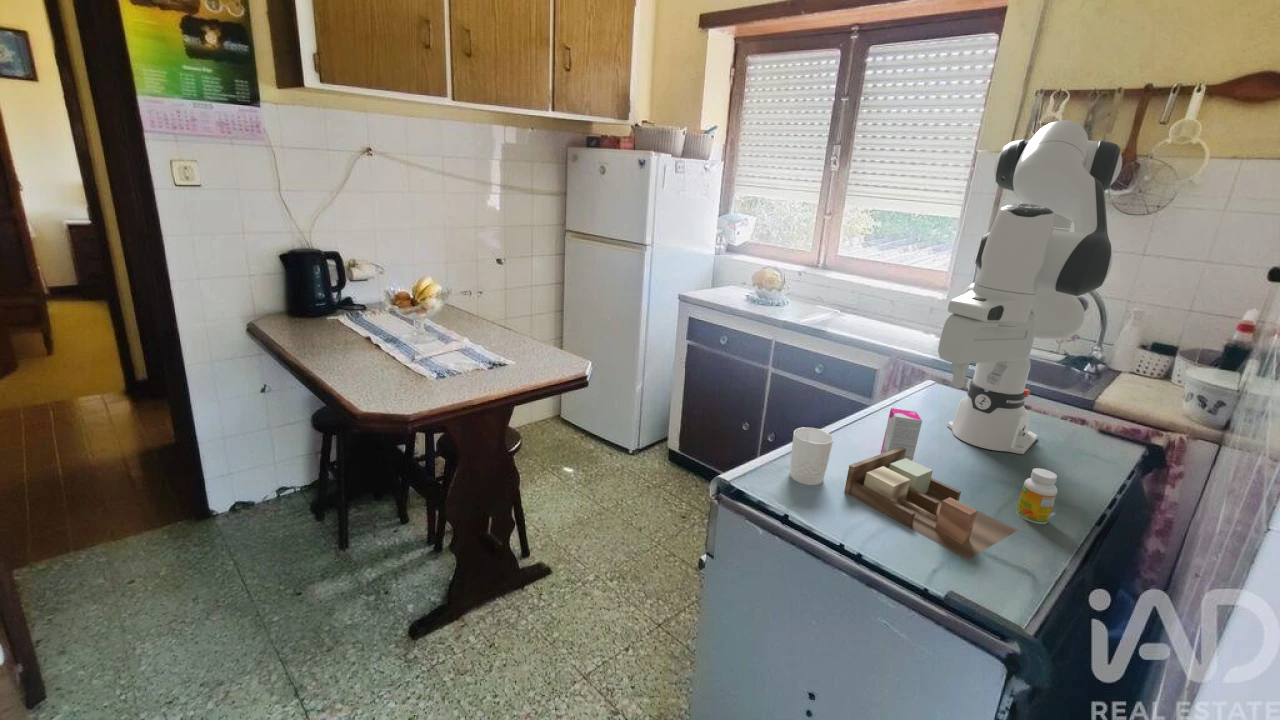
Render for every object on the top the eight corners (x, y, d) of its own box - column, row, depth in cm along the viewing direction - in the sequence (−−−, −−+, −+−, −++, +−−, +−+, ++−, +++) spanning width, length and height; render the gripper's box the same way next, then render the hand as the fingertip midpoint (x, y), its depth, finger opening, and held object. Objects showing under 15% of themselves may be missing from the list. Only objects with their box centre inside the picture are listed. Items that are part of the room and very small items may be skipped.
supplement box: (912, 467, 133) (923, 420, 129) (884, 463, 134) (894, 416, 130) (906, 456, 138) (916, 410, 135) (879, 452, 139) (889, 407, 136)
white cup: (804, 491, 119) (812, 446, 116) (779, 473, 126) (785, 430, 123) (833, 484, 123) (841, 440, 120) (807, 467, 130) (814, 425, 127)
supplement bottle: (1009, 509, 118) (1021, 465, 115) (1034, 510, 118) (1047, 466, 115) (1028, 525, 112) (1041, 479, 109) (1054, 525, 113) (1069, 480, 110)
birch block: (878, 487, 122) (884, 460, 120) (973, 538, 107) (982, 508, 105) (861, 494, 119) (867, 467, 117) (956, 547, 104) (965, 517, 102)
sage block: (901, 479, 126) (905, 457, 125) (927, 492, 121) (932, 470, 120) (885, 485, 123) (890, 463, 121) (912, 498, 118) (917, 476, 117)
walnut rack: (896, 473, 129) (901, 446, 127) (1017, 531, 110) (1026, 501, 108) (843, 493, 119) (849, 465, 117) (967, 562, 100) (976, 529, 98)
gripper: (1017, 302, 105) (995, 376, 109) (942, 301, 95) (920, 382, 99) (1054, 310, 99) (1030, 388, 103) (978, 310, 90) (954, 395, 94)
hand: (975, 385), depth 101 cm, fingers open, 8 cm apart
